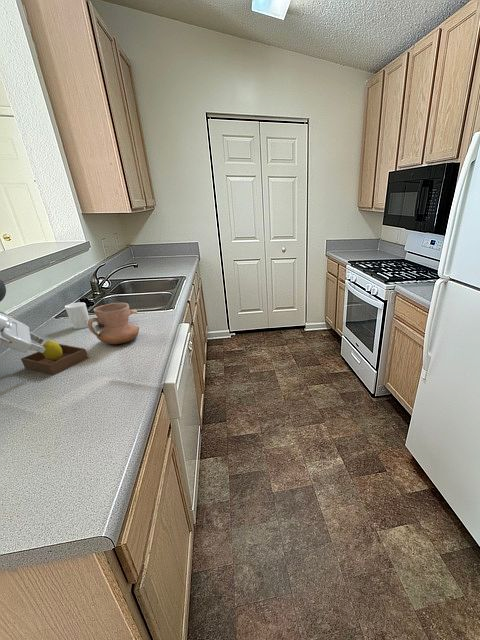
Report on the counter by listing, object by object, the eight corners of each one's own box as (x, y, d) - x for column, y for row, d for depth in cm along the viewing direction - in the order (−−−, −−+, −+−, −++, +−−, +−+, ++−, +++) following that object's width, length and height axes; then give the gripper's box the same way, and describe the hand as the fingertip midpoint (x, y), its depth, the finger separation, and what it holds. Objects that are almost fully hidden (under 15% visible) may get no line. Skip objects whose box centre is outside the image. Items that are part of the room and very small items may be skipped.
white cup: (70, 326, 150) (62, 305, 146) (89, 321, 155) (83, 301, 151) (74, 330, 145) (66, 309, 141) (94, 326, 150) (87, 304, 145)
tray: (25, 368, 114) (20, 358, 113) (61, 352, 125) (58, 343, 124) (53, 375, 110) (49, 365, 108) (88, 358, 121) (85, 348, 119)
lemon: (56, 357, 120) (48, 337, 116) (69, 358, 119) (61, 338, 115) (43, 364, 115) (34, 343, 111) (56, 365, 114) (48, 344, 110)
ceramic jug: (139, 330, 144) (130, 298, 138) (147, 340, 134) (138, 307, 127) (92, 340, 135) (81, 307, 129) (96, 352, 125) (84, 317, 118)
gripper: (-1, 327, 97) (51, 348, 106) (0, 309, 111) (46, 329, 121) (-14, 345, 96) (40, 364, 106) (-11, 325, 111) (36, 344, 120)
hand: (43, 345), depth 114 cm, fingers open, 8 cm apart
